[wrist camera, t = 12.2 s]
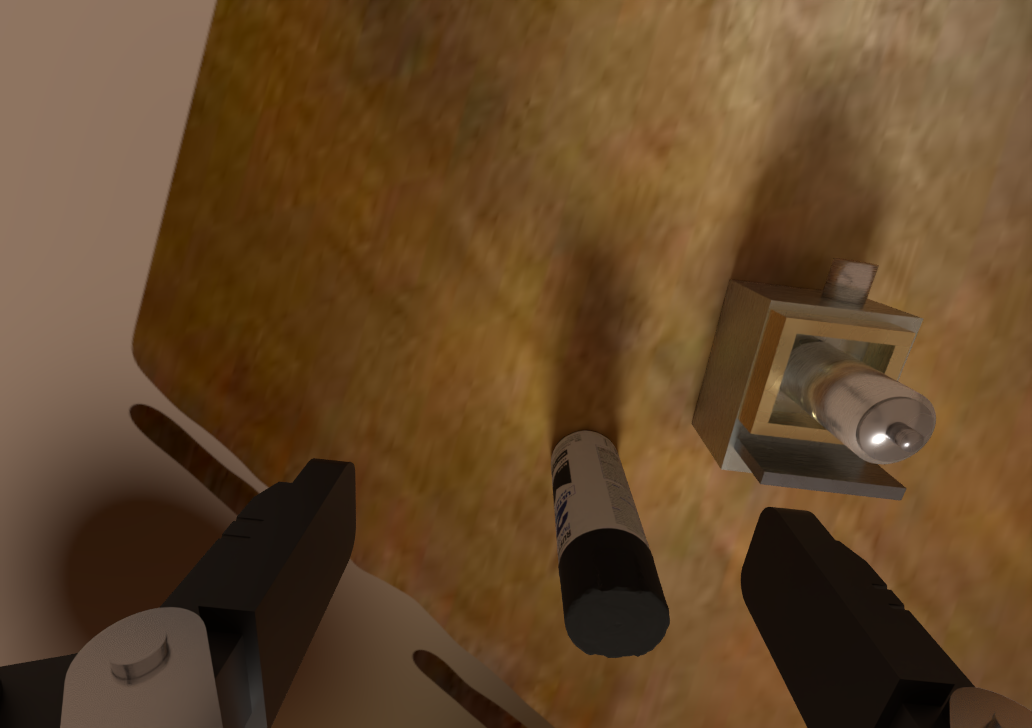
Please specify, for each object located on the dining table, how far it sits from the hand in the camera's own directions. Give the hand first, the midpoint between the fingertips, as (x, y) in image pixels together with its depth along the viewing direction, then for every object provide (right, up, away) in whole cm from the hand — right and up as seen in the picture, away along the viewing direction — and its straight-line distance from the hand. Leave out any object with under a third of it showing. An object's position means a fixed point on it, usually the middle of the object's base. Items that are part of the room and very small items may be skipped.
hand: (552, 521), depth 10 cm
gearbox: (+23, +5, +35) cm, 42 cm away
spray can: (+6, -6, +40) cm, 41 cm away
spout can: (+21, +2, +28) cm, 35 cm away
